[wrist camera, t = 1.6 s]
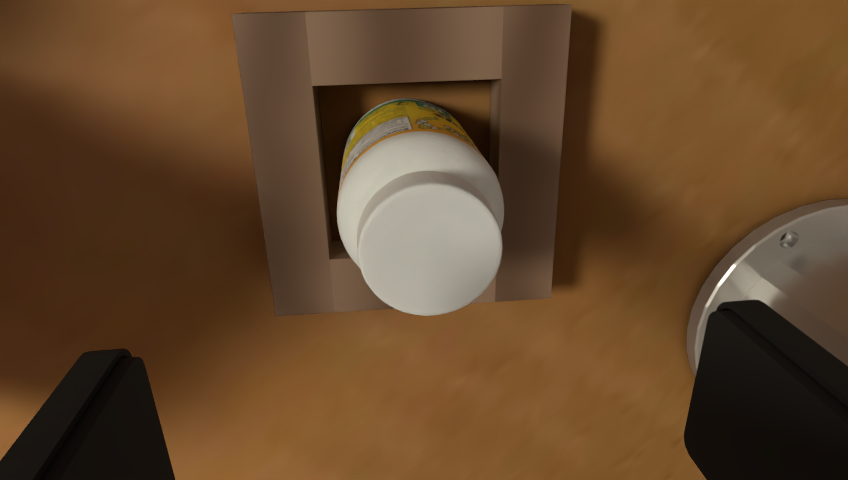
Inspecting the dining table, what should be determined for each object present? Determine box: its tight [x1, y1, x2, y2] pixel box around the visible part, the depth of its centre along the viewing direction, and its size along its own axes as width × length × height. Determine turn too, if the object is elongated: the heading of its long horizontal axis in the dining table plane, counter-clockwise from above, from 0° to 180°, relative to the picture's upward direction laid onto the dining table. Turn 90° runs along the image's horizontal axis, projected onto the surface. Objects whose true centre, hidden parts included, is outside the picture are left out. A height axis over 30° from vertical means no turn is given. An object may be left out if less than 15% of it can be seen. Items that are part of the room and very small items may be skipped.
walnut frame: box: [232, 4, 572, 316], centre depth 23 cm, size 12×12×2 cm
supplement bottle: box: [337, 98, 504, 316], centre depth 20 cm, size 5×5×10 cm
